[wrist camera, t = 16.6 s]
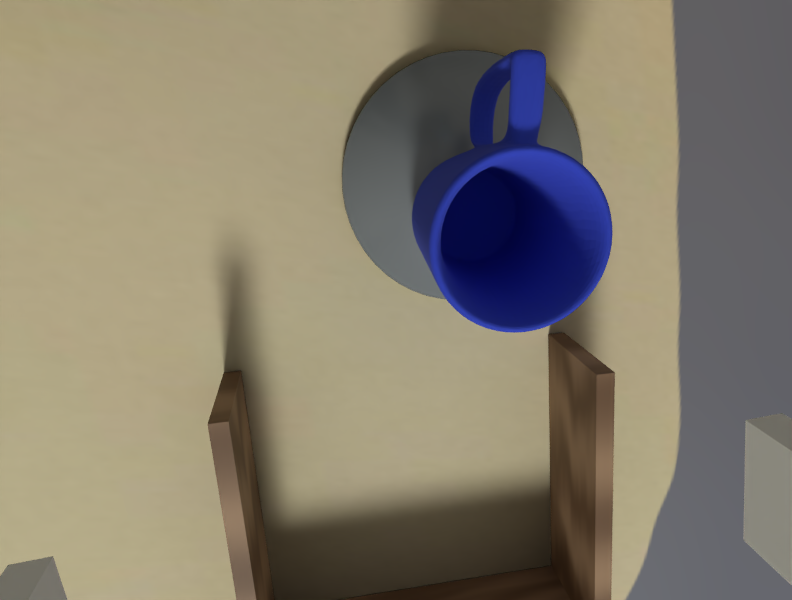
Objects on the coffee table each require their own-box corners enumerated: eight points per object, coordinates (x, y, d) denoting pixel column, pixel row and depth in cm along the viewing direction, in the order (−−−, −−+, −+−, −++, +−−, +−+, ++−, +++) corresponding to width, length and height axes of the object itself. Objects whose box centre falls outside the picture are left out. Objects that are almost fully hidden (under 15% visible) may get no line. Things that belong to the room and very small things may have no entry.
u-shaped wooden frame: (223, 372, 39) (207, 424, 32) (563, 332, 41) (614, 372, 35) (262, 624, 44) (255, 715, 37) (565, 575, 46) (610, 652, 39)
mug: (547, 70, 36) (635, 50, 27) (529, 282, 39) (603, 332, 30) (401, 64, 35) (438, 40, 26) (394, 282, 38) (425, 335, 29)
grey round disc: (329, 59, 35) (330, 58, 35) (579, 43, 37) (583, 42, 36) (353, 309, 39) (354, 312, 38) (578, 284, 41) (582, 287, 40)
